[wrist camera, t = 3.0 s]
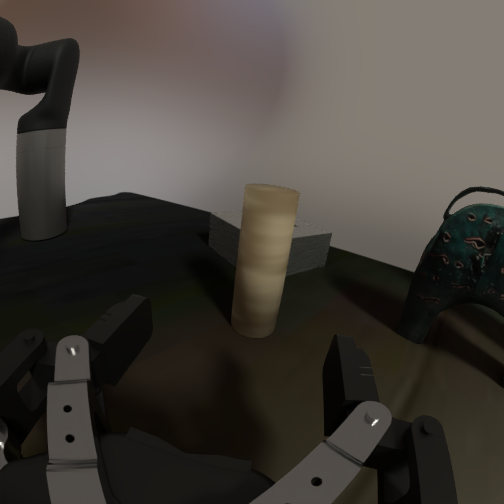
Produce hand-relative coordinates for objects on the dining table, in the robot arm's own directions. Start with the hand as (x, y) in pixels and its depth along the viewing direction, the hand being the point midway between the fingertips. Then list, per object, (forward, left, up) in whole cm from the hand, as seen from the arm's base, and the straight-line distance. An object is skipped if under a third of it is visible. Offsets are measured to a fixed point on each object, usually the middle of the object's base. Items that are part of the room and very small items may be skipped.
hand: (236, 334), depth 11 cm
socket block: (-20, +19, -8) cm, 29 cm away
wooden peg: (-8, +8, -8) cm, 14 cm away
